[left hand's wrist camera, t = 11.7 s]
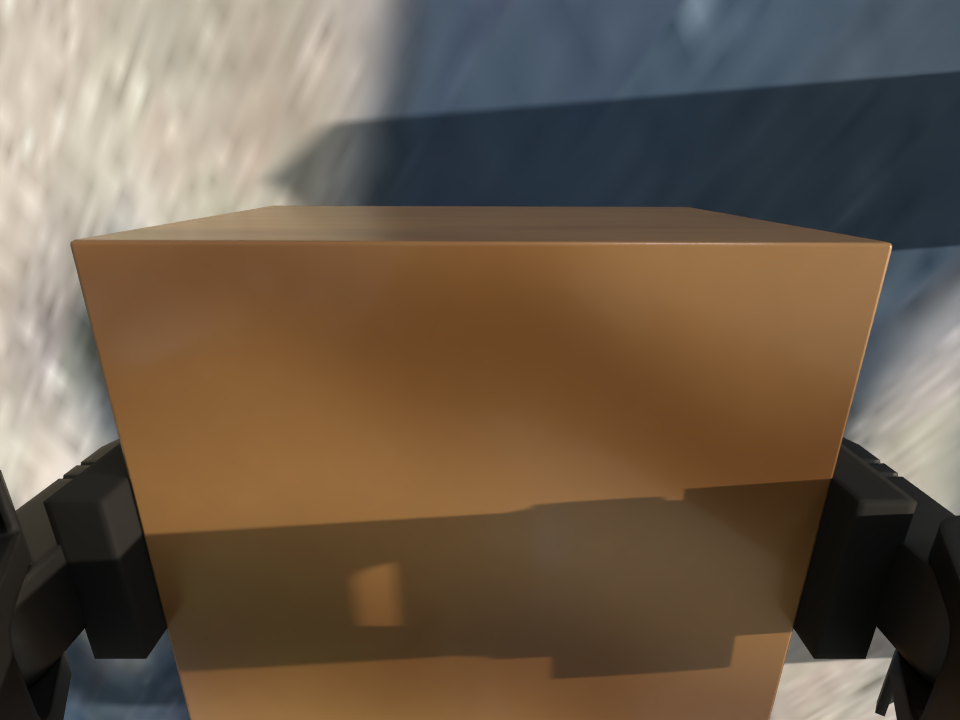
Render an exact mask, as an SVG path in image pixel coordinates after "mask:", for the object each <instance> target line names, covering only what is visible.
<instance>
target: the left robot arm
mask: <svg viewBox="0 0 960 720" xmlns="http://www.w3.org/2000/svg"><path fill="white" fill-rule="evenodd" d="M63 476H64V477H63V479H58V480H57V481H55V482H54V483H52V484H51V485H50V486H48V487H47V488H46V489H44V490H43V491H42V492H40V493H39V494H38V495H36V496H35V497H34V498H32V499H31V500H30V501H28V502H27V503H26V504H24V505H23V506H22V507H20V508H19V509H17V510H16V511H15V509H14V506H13V503H12V500H11V497H10V494H9V492H8V489H7V486H6V483H5V480H4V478H3V475H2V472H1V470H0V720H63V718H64V713H65V707H66V701H67V696H68V690H69V684H70V679H71V670H70V663H69V661H68V658H67V655H66V652H65V651H66V649H67V648H68V647H69V646H70V645H71V644H72V642H73V641H74V640H75V639H76V638H77V637H78V635H79V634H80V633H81V632H82V631H83V630H84V628H85V630H86V633H87V636H88V639H89V642H90V645H91V648H92V651H93V654H94V657H95V659H146V658H147V657H148V655H149V654H150V652H151V651H152V649H153V648H154V646H155V645H156V644H157V642H158V641H159V639H160V638H161V636H162V635H163V633H164V632H165V630H166V629H167V626H166V622H165V618H164V614H163V610H162V606H161V602H160V598H159V594H158V590H157V586H156V582H155V578H154V574H153V571H152V567H151V563H150V559H149V555H148V551H147V547H146V543H145V539H144V535H143V531H142V527H141V523H140V519H139V515H138V511H137V507H136V503H135V499H134V495H133V491H132V487H131V483H130V479H129V475H128V471H127V467H126V463H125V459H124V455H123V451H122V448H121V444H120V440H119V439H118V440H115V441H113V442H111V443H109V444H107V445H105V446H103V447H101V448H100V449H98V450H97V451H96V452H94V453H93V454H92V455H90V456H89V457H88V458H86V459H85V460H83V461H82V462H81V465H77V466H75V467H74V468H73V469H71V470H70V471H69V472H67V473H66V474H65V475H63ZM876 626H877V627H878V628H879V630H880V631H881V632H882V633H883V634H884V635H885V637H886V638H887V639H888V640H889V641H890V642H891V643H892V645H893V646H894V647H895V648H896V649H895V652H894V655H893V658H892V661H891V663H890V666H889V669H888V672H887V675H886V678H885V680H884V683H883V686H882V689H881V692H880V694H879V697H878V700H877V705H876V711H875V713H877V714H880V715H882V716H885V714H886V711H887V708H888V706H889V704H891V703H893V702H894V705H895V711H896V717H897V720H960V516H955V515H954V514H952V513H951V512H950V511H948V510H947V509H946V508H944V507H943V506H941V505H940V504H939V503H937V502H936V501H935V500H933V499H932V498H931V497H929V496H928V495H927V494H925V493H924V492H922V491H921V490H920V489H918V488H917V487H916V486H914V485H913V484H912V483H910V482H909V481H907V480H906V479H905V478H903V477H898V473H897V472H895V471H894V470H893V469H891V468H890V467H888V466H887V465H886V464H884V463H880V460H879V459H878V458H876V457H875V456H874V455H872V454H871V453H869V452H868V451H867V450H865V449H864V448H863V447H861V446H860V445H858V444H856V443H854V442H852V441H850V440H847V439H845V438H842V442H841V446H840V450H839V454H838V458H837V461H836V465H835V469H834V473H833V477H832V480H831V484H830V488H829V492H828V496H827V500H826V504H825V507H824V511H823V515H822V519H821V523H820V527H819V531H818V535H817V538H816V542H815V546H814V550H813V554H812V558H811V562H810V565H809V569H808V573H807V577H806V581H805V585H804V588H803V592H802V596H801V600H800V604H799V608H798V612H797V615H796V619H795V623H794V627H793V628H794V630H795V631H796V633H797V634H798V636H799V637H800V639H801V640H802V641H803V643H804V644H805V646H806V647H807V649H808V650H809V652H810V653H811V655H812V656H813V658H814V659H866V656H867V653H868V650H869V647H870V644H871V641H872V638H873V635H874V632H875V629H876Z"/></svg>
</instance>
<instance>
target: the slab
mask: <svg viewBox="0 0 960 720" xmlns="http://www.w3.org/2000/svg"><path fill="white" fill-rule="evenodd" d="M71 249H72V253H73V257H74V261H75V265H76V269H77V273H78V277H79V281H80V285H81V289H82V293H83V297H84V301H85V305H86V309H87V313H88V317H89V321H90V325H91V329H92V332H93V336H94V340H95V344H96V348H97V352H98V356H99V360H100V364H101V368H102V372H103V376H104V380H105V384H106V388H107V392H108V396H109V400H110V404H111V408H112V412H113V416H114V420H115V424H116V428H117V432H118V436H119V440H120V444H121V448H122V451H123V455H124V459H125V463H126V467H127V471H128V475H129V479H130V483H131V487H132V491H133V495H134V499H135V503H136V507H137V511H138V515H139V519H140V523H141V527H142V531H143V535H144V539H145V543H146V547H147V551H148V555H149V559H150V563H151V567H152V571H153V574H154V578H155V582H156V586H157V590H158V594H159V598H160V602H161V606H162V610H163V614H164V618H165V622H166V626H167V630H168V634H169V638H170V642H171V646H172V650H173V654H174V658H175V662H176V666H177V670H178V674H179V678H180V682H181V686H182V690H183V693H184V697H185V701H186V705H187V709H188V713H189V717H190V720H769V719H770V715H771V712H772V708H773V704H774V700H775V696H776V692H777V688H778V685H779V681H780V677H781V673H782V669H783V665H784V662H785V658H786V654H787V650H788V646H789V642H790V638H791V635H792V631H793V627H794V623H795V619H796V615H797V612H798V608H799V604H800V600H801V596H802V592H803V588H804V585H805V581H806V577H807V573H808V569H809V565H810V562H811V558H812V554H813V550H814V546H815V542H816V538H817V535H818V531H819V527H820V523H821V519H822V515H823V511H824V507H825V504H826V500H827V496H828V492H829V488H830V484H831V480H832V477H833V473H834V469H835V465H836V461H837V458H838V454H839V450H840V446H841V442H842V438H843V435H844V431H845V427H846V423H847V419H848V415H849V411H850V408H851V404H852V400H853V396H854V392H855V388H856V385H857V381H858V377H859V373H860V369H861V365H862V361H863V358H864V354H865V350H866V346H867V342H868V338H869V335H870V331H871V327H872V323H873V319H874V315H875V311H876V308H877V304H878V300H879V296H880V292H881V288H882V285H883V281H884V277H885V273H886V269H887V265H888V261H889V258H890V254H891V250H892V244H890V243H888V242H884V241H879V240H873V239H867V238H861V237H856V236H850V235H844V234H839V233H833V232H827V231H822V230H816V229H810V228H805V227H799V226H793V225H787V224H782V223H776V222H770V221H765V220H759V219H753V218H748V217H742V216H736V215H731V214H725V213H719V212H713V211H708V210H702V209H696V208H691V207H523V206H269V207H263V208H257V209H251V210H246V211H240V212H234V213H228V214H222V215H216V216H211V217H205V218H199V219H193V220H187V221H181V222H176V223H170V224H164V225H158V226H152V227H146V228H141V229H135V230H129V231H123V232H117V233H111V234H106V235H100V236H94V237H88V238H82V239H76V240H73V241H72V242H71Z"/></svg>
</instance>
